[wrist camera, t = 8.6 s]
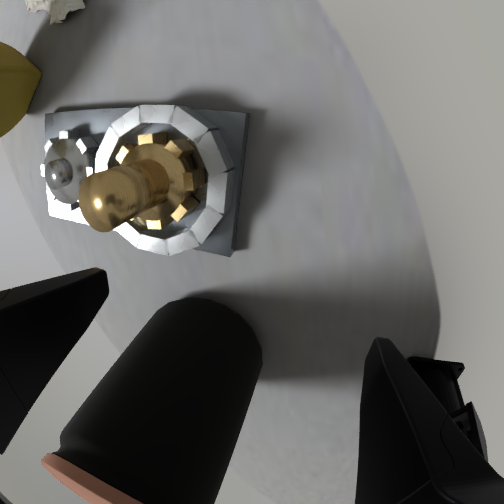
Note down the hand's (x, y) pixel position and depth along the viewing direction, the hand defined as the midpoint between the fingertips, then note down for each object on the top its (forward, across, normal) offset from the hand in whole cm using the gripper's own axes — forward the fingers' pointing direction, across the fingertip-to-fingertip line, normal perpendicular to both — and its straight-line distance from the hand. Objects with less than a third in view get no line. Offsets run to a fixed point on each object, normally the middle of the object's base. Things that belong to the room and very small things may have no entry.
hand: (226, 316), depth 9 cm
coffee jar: (+13, +5, +14) cm, 20 cm away
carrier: (+13, +13, -1) cm, 18 cm away
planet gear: (+12, +9, -1) cm, 15 cm away
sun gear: (+13, +18, -1) cm, 22 cm away
